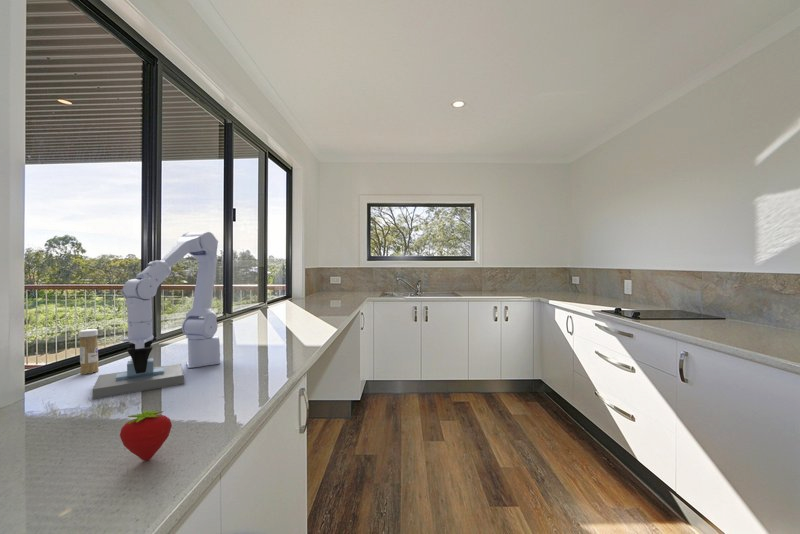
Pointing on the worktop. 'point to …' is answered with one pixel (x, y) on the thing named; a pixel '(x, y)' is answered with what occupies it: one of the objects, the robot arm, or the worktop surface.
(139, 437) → the strawberry
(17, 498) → the worktop surface
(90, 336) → the sprinkles bottle
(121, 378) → the block
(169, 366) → the mounting plate
